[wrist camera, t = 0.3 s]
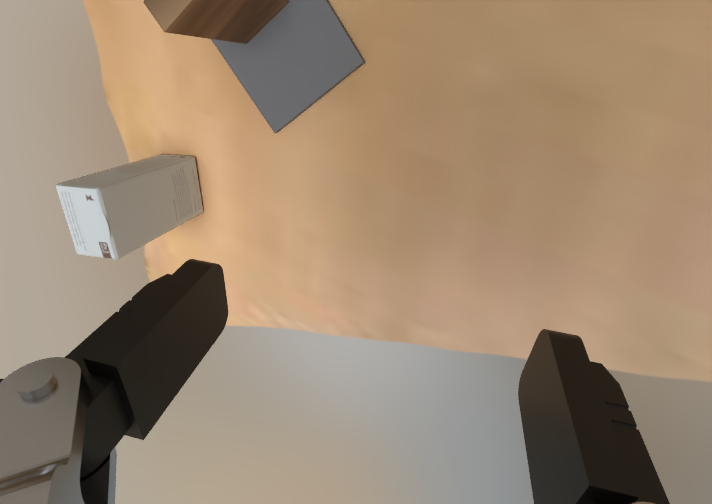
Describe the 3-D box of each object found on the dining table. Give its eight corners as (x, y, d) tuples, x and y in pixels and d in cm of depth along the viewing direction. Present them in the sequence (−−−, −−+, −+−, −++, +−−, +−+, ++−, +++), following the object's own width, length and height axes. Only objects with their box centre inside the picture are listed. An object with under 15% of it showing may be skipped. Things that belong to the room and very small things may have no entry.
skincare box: (160, 153, 41) (47, 180, 30) (198, 155, 40) (95, 184, 29) (171, 211, 43) (70, 255, 32) (208, 214, 42) (116, 261, 31)
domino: (289, 2, 31) (215, -28, 23) (246, 44, 34) (164, 31, 25) (274, -22, 31) (193, -62, 22) (232, 22, 33) (143, 1, 24)
